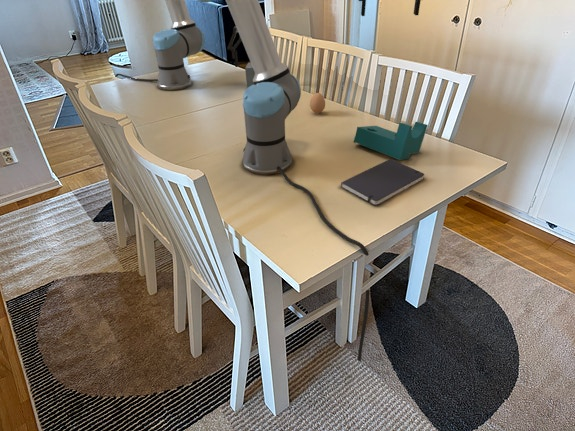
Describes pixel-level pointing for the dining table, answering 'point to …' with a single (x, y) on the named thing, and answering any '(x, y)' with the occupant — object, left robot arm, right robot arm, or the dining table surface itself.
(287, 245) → the dining table surface
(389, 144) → the teal l-shaped bracket
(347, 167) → the dining table surface
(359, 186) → the notebook
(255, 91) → the right robot arm
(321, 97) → the egg
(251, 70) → the brick
